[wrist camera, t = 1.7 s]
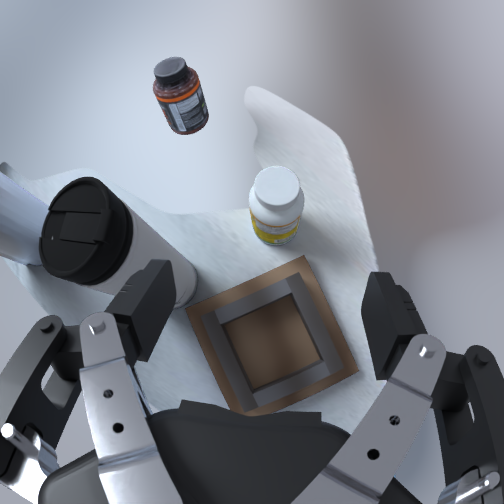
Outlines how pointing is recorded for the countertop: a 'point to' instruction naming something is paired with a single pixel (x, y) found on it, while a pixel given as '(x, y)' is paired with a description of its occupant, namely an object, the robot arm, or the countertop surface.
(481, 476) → the robot arm
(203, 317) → the square tray with rim
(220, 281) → the countertop surface
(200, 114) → the supplement bottle
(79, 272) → the travel mug
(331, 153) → the countertop surface
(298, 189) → the supplement bottle
